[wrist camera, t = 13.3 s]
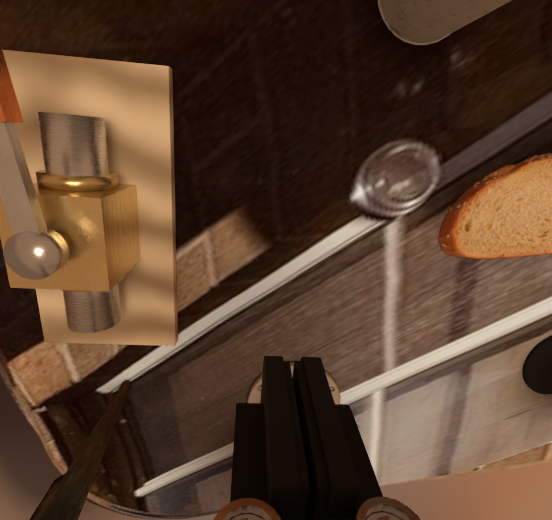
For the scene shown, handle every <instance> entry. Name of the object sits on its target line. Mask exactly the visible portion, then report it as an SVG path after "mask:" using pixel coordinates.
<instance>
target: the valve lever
mask: <svg viewBox="0 0 552 520" xmlns="http://www.w3.org/2000/svg"><path fill="white" fill-rule="evenodd" d="M15 123H24V121H23V117H22V114H21V111H20V107H19V104H18V101H17V97H16V94H15V91H14V87H13V84H12V81H11V77H10V74H9V71H8V67H7V64H6V61H5V57H4V54H3V51H2V47H1V44H0V197H1V200H2V203H3V206H4V209H5V212H6V215H7V217H8V220H9V223H10V226H11V229H12V232H13V236H11V237H10V238H9V239H8V240H7V241H6V243H5V245H4V248H3V255H4V259H5V261H6V263H7V265H8V266H9V268H10V269H11V270H12V271H13V272H15V273H16V274H17V275H19V276H21V277H23V278H26V279H30V280H40V279H44V278H46V277H48V276H50V275H51V274H53V273H54V272H56V271H57V270H59V269H60V268H62V267H63V266H64V265H65V264H66V263H67V261H68V258H69V248H68V245H67V243H66V241H65V240H64V238H63V237H62V236H61V235H60V234H59V233H57V232H56V231H54V230H52V229H50V228H47V227H46V224H45V220H44V217H43V214H42V211H41V208H40V204H39V201H38V198H37V195H36V191H35V188H34V185H33V182H32V179H31V175H30V172H29V169H28V166H27V162H26V159H25V156H24V153H23V150H22V146H21V143H20V140H19V137H18V133H17V130H16V127H15Z"/></svg>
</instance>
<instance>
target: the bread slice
mask: <svg viewBox="0 0 552 520" xmlns="http://www.w3.org/2000/svg"><path fill="white" fill-rule="evenodd" d="M438 242H439V246H440V248H441V249H442V251H443V252H444V253H445V254H447V255H451V256H455V257H458V256H459V257H467V258H474V259H479V258H481V259H493V258H509V257H521V256H538V255H542V254H552V153H548V154H543V155H534V156H531V157H529V158H527V159H525V160H523V161H522V162H520V163H517V164H514V165H507V166H504V167H502V168H501V169H499V170H497V171H495V172H492V173H491V174H489V175H488V176H486V177H484V178H483V179H481V180H480V181H478V182H477V183H475V184H474V185H472V186H471V187H470V188H469V189H468V190H467V191H466V192H465V193H464V194H463V195H462V196H461V197H459V199H458V200H457V201H456V202H455V203H454V204H453V205H452V207H451V208H450V210H449V211H448V213H447V215H446V216H445V218H444V220H443V223H442V225H441V228H440V232H439V236H438Z"/></svg>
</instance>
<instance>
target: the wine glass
mask: <svg viewBox="0 0 552 520" xmlns="http://www.w3.org/2000/svg"><path fill="white" fill-rule="evenodd" d="M523 378H524V381H525V383H526V384H527V385H528V387H530V388H531V389H532V390H533V391H535V392H538V393H541V394H552V336H550V337H548V338H546V339H545V340H543V341H542V342H540V343H539V344H538V345H537V346H536V347H534V349H533V350H532V351H531V352H530V354H529V355H528V356H527V358H526V360H525V363H524V366H523Z"/></svg>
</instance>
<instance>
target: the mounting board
mask: <svg viewBox="0 0 552 520" xmlns="http://www.w3.org/2000/svg"><path fill="white" fill-rule="evenodd" d="M2 51H3V54H4V57H5V61H6V64H7V67H8V71H9V74H10V77H11V81H12V84H13V87H14V91H15V94H16V97H17V101H18V104H19V107H20V111H21V114H22V117H23V121H24V123H15V127H16V130H17V133H18V137H19V140H20V143H21V146H22V150H23V153H24V156H25V159H26V162H27V166H28V169H29V172H30V175H31V179H32V182H33V183H36V182H37V178H36V171H39V170H45V166H44V159H43V152H42V145H41V138H40V131H39V124H38V117H37V112H48V113H60V114H71V115H81V116H91V117H99V118H105V128H106V141H107V153H108V165H109V171H110V172H115V173H117V174H118V184H131V185H136V188H137V205H138V222H139V240H140V257H141V259H140V260H139V261H138V262H137V263H136V264H135V265H134V266H133V267H132V269H131V270H130V271H129V272H128V273H127V274H126V275H125V278H124V280H123V281H122V282H120V283H119V284H118V285H119V297H120V309H121V320H120V322H119V323H118V324H117V325H115V326H114V327H112V328H110V329H107V330H104V331H100V332H96V333H77V332H73V331H71V330H70V329H69V328H68V326H67V319H66V312H65V305H64V298H63V291H62V290H58V289H36V293H37V299H38V305H39V311H40V317H41V323H42V328H43V334H44V340H45V342H58V343H92V344H126V345H160V346H175V345H176V343H177V340H178V321H177V273H176V225H175V178H174V130H173V82H172V69H171V68H170V67H169V66H161V65H151V64H141V63H131V62H121V61H111V60H101V59H91V58H81V57H71V56H61V55H51V54H40V53H30V52H20V51H10V50H2Z"/></svg>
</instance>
